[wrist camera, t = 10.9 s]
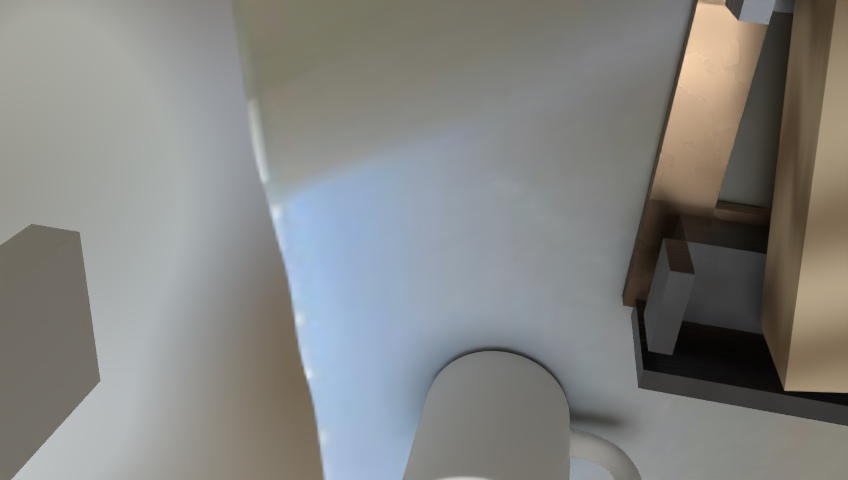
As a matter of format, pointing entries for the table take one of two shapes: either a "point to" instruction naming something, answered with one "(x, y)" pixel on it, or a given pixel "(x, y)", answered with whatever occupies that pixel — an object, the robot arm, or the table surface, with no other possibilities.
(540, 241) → the table surface
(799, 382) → the rail
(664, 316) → the brackets
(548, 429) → the mug
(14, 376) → the robot arm
